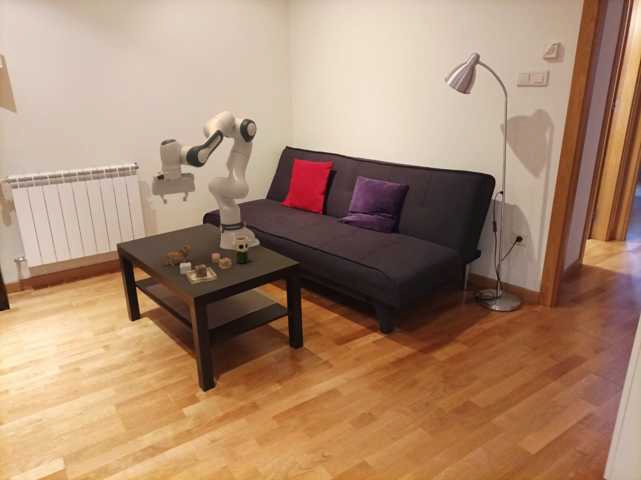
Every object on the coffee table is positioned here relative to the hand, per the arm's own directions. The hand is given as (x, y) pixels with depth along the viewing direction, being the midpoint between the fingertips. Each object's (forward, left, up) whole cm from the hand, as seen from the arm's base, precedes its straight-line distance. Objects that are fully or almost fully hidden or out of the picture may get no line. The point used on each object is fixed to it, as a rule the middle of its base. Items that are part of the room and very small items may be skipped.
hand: (175, 202), depth 237 cm
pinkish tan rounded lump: (-17, +3, -33) cm, 37 cm away
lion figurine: (+1, -4, -33) cm, 34 cm away
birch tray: (-5, +21, -33) cm, 39 cm away
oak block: (-19, +13, -33) cm, 40 cm away
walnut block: (-5, +21, -32) cm, 39 cm away
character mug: (-29, +10, -33) cm, 45 cm away
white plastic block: (0, +10, -33) cm, 35 cm away
